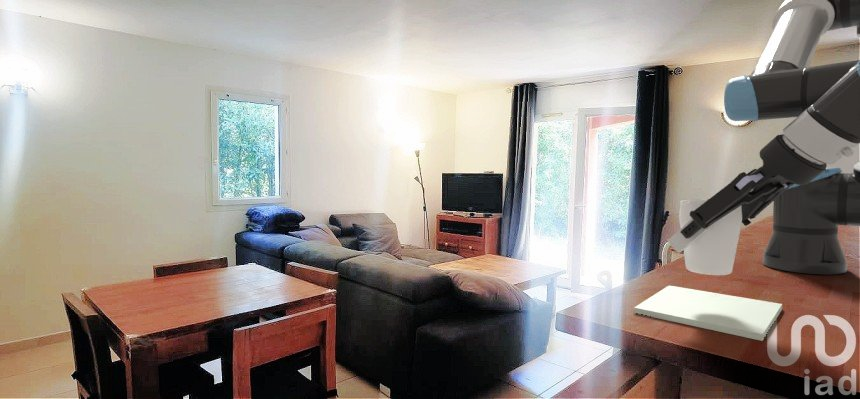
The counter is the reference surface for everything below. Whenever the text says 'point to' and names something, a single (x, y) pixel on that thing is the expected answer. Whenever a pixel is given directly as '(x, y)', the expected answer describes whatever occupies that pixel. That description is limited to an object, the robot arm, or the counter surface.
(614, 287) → the counter surface
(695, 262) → the cup
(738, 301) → the sage board
